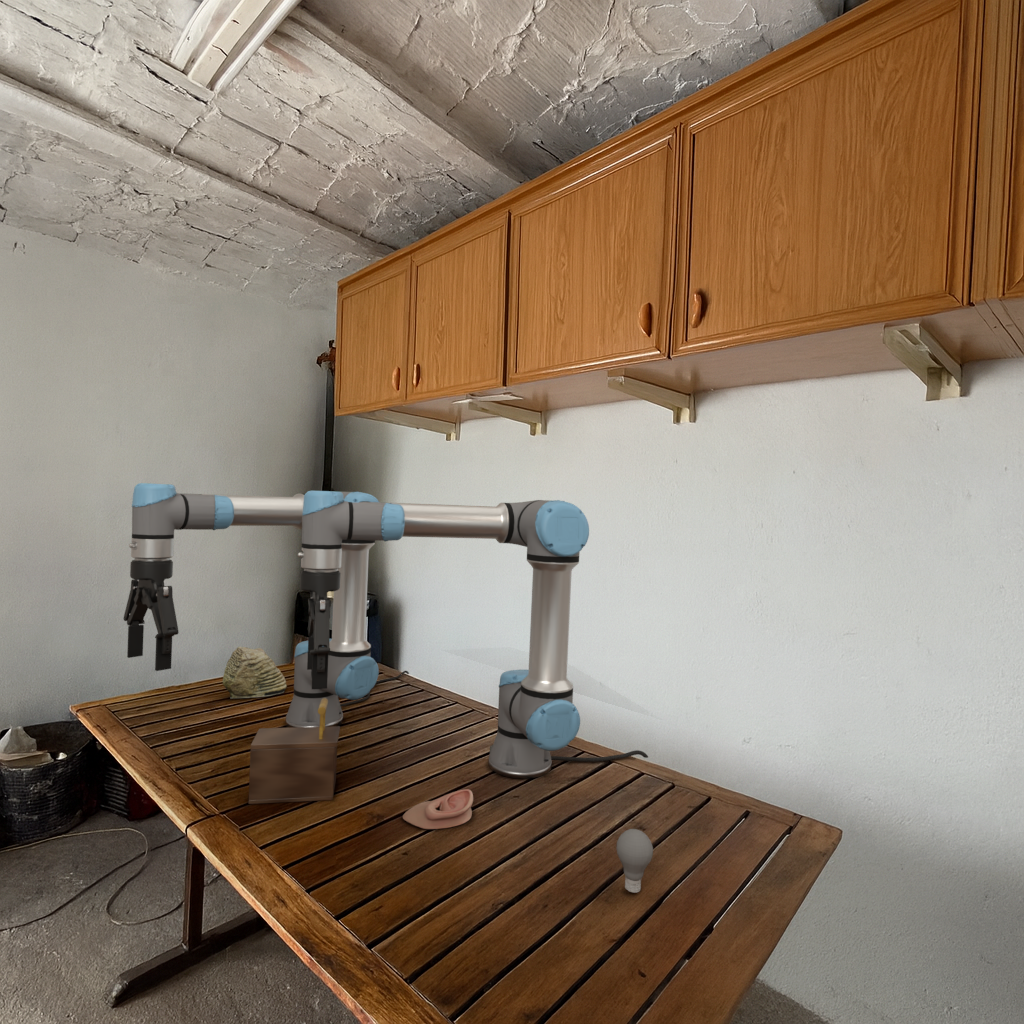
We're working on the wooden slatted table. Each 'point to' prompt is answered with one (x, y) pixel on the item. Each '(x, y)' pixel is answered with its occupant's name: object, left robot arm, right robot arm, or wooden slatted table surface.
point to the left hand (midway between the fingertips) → (148, 662)
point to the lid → (298, 735)
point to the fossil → (252, 674)
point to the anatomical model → (442, 811)
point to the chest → (292, 774)
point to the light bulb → (634, 857)
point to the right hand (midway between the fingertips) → (316, 678)
